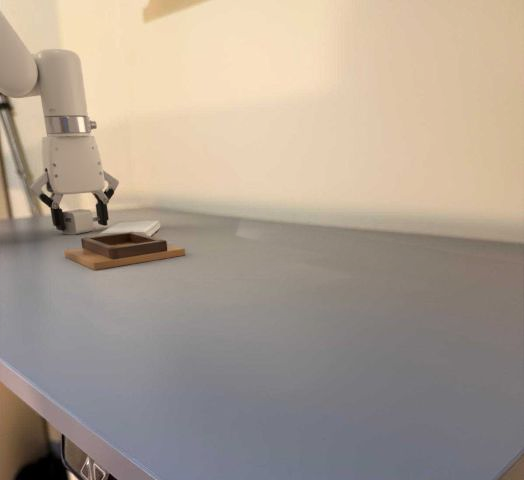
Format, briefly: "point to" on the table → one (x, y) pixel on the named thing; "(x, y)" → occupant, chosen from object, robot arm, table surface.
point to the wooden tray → (121, 250)
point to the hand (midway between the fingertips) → (82, 226)
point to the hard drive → (133, 227)
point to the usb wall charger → (78, 221)
